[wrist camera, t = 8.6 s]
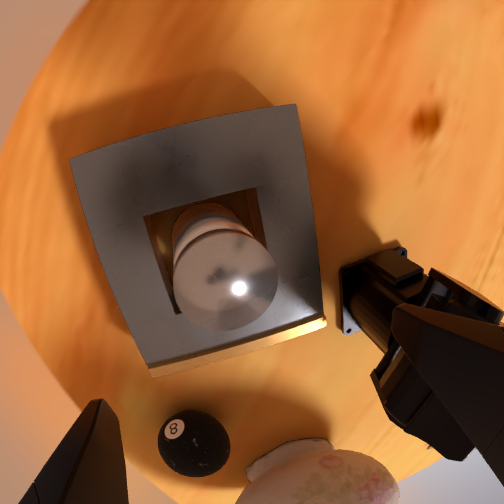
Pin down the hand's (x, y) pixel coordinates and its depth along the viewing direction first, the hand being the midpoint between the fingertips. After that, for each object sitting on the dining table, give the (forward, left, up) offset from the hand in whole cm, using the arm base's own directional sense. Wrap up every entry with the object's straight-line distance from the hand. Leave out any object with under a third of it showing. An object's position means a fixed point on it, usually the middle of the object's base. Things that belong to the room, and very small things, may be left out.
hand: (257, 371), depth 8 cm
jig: (0, 0, -12) cm, 12 cm away
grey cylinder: (0, 0, -12) cm, 12 cm away
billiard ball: (-16, +6, -13) cm, 21 cm away
